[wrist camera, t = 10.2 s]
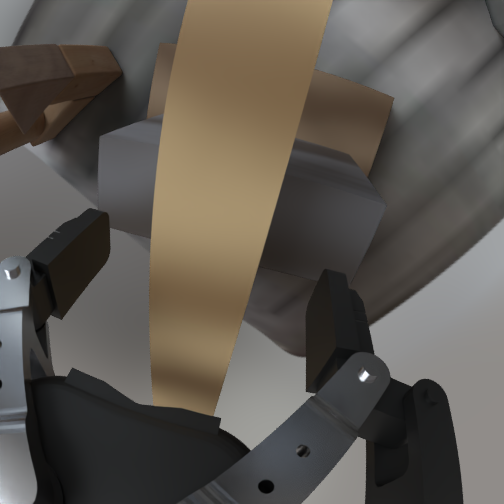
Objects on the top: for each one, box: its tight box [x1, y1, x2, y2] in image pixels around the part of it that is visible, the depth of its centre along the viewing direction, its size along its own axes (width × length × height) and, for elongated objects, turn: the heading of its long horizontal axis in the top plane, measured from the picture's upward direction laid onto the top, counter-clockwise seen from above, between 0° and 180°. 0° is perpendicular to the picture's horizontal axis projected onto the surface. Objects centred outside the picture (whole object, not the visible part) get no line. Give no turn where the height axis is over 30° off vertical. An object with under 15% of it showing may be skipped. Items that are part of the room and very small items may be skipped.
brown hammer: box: [0, 44, 122, 155], centre depth 15 cm, size 4×11×18 cm, turn 118°
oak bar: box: [149, 0, 333, 416], centre depth 12 cm, size 24×4×5 cm, turn 166°
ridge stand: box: [98, 43, 394, 287], centre depth 19 cm, size 16×18×12 cm
